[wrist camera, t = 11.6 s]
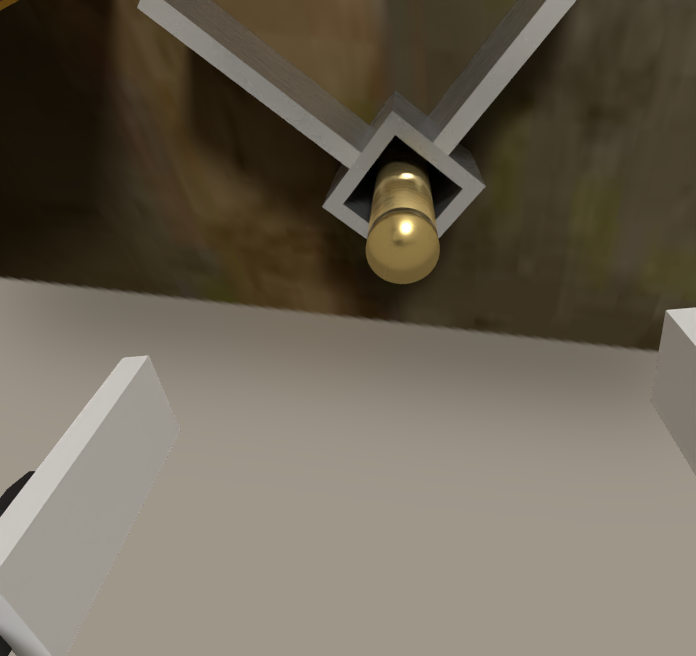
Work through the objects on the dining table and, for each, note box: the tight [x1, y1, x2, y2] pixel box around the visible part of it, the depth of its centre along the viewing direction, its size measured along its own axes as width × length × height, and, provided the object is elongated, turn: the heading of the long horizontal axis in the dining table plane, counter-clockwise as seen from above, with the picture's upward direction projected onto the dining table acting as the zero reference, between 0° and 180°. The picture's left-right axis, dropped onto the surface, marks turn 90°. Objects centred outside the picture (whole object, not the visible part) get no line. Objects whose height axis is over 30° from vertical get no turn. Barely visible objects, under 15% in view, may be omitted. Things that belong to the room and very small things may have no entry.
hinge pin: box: [366, 138, 440, 284], centre depth 28 cm, size 3×3×14 cm
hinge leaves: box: [137, 0, 576, 239], centre depth 26 cm, size 18×18×7 cm
